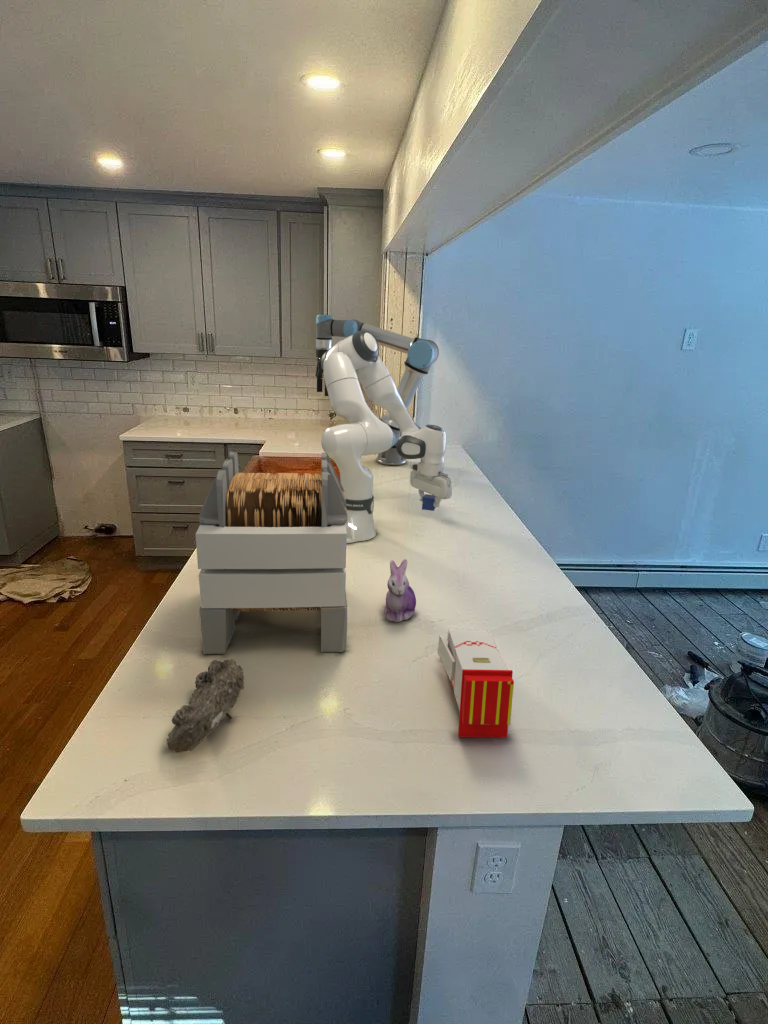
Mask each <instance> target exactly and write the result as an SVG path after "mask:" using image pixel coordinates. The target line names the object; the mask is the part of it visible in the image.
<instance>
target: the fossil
mask: <svg viewBox="0 0 768 1024" xmlns="http://www.w3.org/2000/svg"><path fill="white" fill-rule="evenodd" d="M243 670H244V669H243V667H242V665H240V664H237V662H236V661H235V660H234V659H232V658H231V659H227V658H226V659H224V660H223V661H222V660H217V659H212V660H211V661H210V663H209V665H208V666H207V671H201V672H199V673H198V674H197V675H196V676H195V680H194V684H195V685H194V687H195V689H194V690H193V693H192V694H191V697H190V698H189V700H188V704H184V705H182V706H181V707H180V709H177V710H176V711H175V713H174V715H173V716H172V718H171V723H172V724H173V727H172V730H171V731H170V732H168V734H167V738H166V741H167V742H166V745H167V749H168V750H169V751H173V752H174V753H176V754H178V753H182V752H188V751H189V752H192V751H193V750H195V748H196V747H197V746H199V744H200V743H201V742H203V741H204V740H205V739H206V738H207V737H208V736H209V735H210V734H211V733H212V732H214V730H215V729H217V727H218V726H219V724H220V722H221V721H222V720H223V719H224V718H225V716H226V717H227V719H229V720H233V717H232V715H230V714H229V710H230V709H231V708H234V706H235V704H236V703H237V702H238V699H239V697H240V695H241V693H242V691H243V690H245V689H244V688H245V675H244V671H243Z"/></svg>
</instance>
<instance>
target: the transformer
mask: <svg viewBox="0 0 768 1024" xmlns="http://www.w3.org/2000/svg"><path fill="white" fill-rule="evenodd" d="M320 456H321V462H320V463H321V467H320V469H321V470H320V471H321V472H320V473H314V474H313V473H297V472H289V473H288V472H277V473H275V472H274V473H270V472H266V473H265V472H247V473H246V472H240V471H239V469H240V468H239V455H238V451H232V450H231V451H229V453H228V455H227V458H224V461H223V464H222V466H221V468H220V469H219V470H218V471H217V473H216V476H215V477H214V480H213V482H212V484H211V487H210V488H209V490H208V494H207V495H206V498H205V500H204V502H203V505H202V506H201V509H200V512H199V514H198V522H199V524H200V525H199V526H198V529H197V530H196V532H195V546H196V561H197V570H200V571H199V573H198V586H199V599H200V600H199V601H200V607H199V621H200V623H199V624H200V632H201V641H202V651H201V653H202V654H203V655H208V656H210V654H213V655H214V654H216V655H220V654H221V655H222V654H223V655H225V654H226V652H227V649H228V647H229V644H230V642H231V640H232V637H233V636H234V632H235V622H238V618H239V615H240V612H266V611H267V612H278V611H280V612H289V611H295V610H296V611H320V652H321V653H324V652H325V653H326V652H329V653H330V652H332V653H333V652H339V653H344V652H345V651H347V642H348V640H347V639H348V637H347V636H348V600H347V592H346V590H347V589H346V579H347V572H346V571H347V570H346V568H347V543H346V541H347V532H346V524H345V523H347V519H348V514H347V506H346V499H345V491H344V489H343V487H342V484H341V482H340V477H339V476H338V473H337V472H336V470H335V467H334V465H333V462H332V461H331V458H330V457H329V456H328V454H327V453H325V452H321V455H320Z"/></svg>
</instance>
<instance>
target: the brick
mask: <svg viewBox="0 0 768 1024" xmlns="http://www.w3.org/2000/svg"><path fill="white" fill-rule="evenodd" d="M435 501H436V496H434V495H432V494H429V493H424V496H423V501H421V502H422V503H421V505H422V506H421V511H422V510H423V511H430V512H434V511H435V510H436V508H437V507H434V506H433V505H434V504H433V502H435Z"/></svg>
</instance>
